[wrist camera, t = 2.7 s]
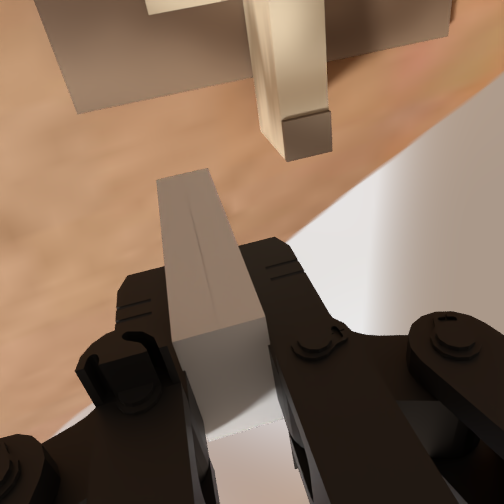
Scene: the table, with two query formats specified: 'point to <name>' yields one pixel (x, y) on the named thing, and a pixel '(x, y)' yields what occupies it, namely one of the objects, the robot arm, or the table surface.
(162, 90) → the post board
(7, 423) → the table surface
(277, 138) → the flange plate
